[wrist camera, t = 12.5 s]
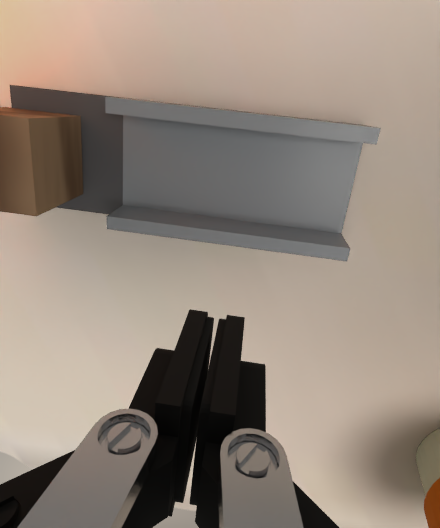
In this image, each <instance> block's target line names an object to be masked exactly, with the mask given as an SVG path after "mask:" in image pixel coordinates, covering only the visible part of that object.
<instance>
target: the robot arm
mask: <svg viewBox="0 0 440 528" xmlns="http://www.w3.org/2000/svg"><path fill="white" fill-rule="evenodd" d="M244 319H245V317H238V316H231V315H227V318H226V320H225V319H219V322H218V327H217V332H216V336H215V341H214V346H213V350H212V355H211V360H210V364H209V358H210V349H211V340H212V332H213V323H214V318H212V317H208V312H203V311H196V310H189V313H188V315H187V318H186V321H185V324H184V326H183V329H182V332H181V334H180V337H179V340H178V342H177V345H176V348H175V351H173V350H166V349H160V348H157V349H156V350H155V351H154V353H153V356H152V358H151V360H150V362H149V364H148V367H147V369H146V371H145V373H144V376H143V378H142V380H141V382H140V384H139V387H138V389H137V391H136V393H135V396H134V398H133V400H132V402H131V404H130V407H129V409H120V410H116V411H113V412H110V413H108V414H107V415H105V416H103V417H102V418H101V419H100V420H99V421H98V422H97V423H96V424H95V425H94V426H93V427H92V429H91V430H90V431H89V433H88V434H87V435H86V437H85V438H84V439H83V441H82V442H81V443H80V445H79V446H78V447H77V449H76V450H74V451H72V452H70V453H68V454H65V455H63V456H61V457H59V458H57V459H55V460H53V461H50V462H48V463H46V464H44V465H42V466H40V467H37V468H35V469H33V470H31V471H29V472H27V473H24V474H22V475H20V476H18V477H16V478H14V479H11V480H9V481H7V482H5V483H3V484H1V485H0V528H153V526H155V525H156V524H158V523H159V522H161V521H162V520H164V519H165V518H167V517H168V516H172V512H173V508H174V504H175V502H181V503H183V501H184V496H185V491H186V486H187V482H188V477H189V472H190V467H191V462H192V457H193V452H194V448H195V443H196V450H195V459H194V468H193V478H192V487H191V496H190V504H192V505H197V510H196V518H195V522H196V524H197V525H198V527H199V528H339V527H338V526H337V525H336V524H335V523H334V522H333V521H332V520H331V519H330V518H329V517H328V516H327V515H326V514H325V513H324V512H323V511H322V510H321V509H320V508H319V507H318V506H317V505H316V504H315V503H314V502H313V501H312V500H311V499H310V498H309V497H308V496H307V495H306V494H305V493H304V492H303V491H302V490H301V489H300V488H299V487H298V486H297V485H296V484H295V483H294V482H293V481H292V477H291V472H290V468H289V464H288V460H287V456H286V453H285V451H284V448H283V447H282V445H281V444H280V443H279V442H278V440H277V439H275V438H274V437H273V436H271V435H270V434H268V433H266V399H265V364H258V363H252V362H245V361H241V351H242V341H243V330H244ZM208 367H209V369H208ZM196 438H197V440H196Z"/></svg>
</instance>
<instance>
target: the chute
mask: <svg viewBox="0 0 440 528" xmlns="http://www.w3.org/2000/svg"><path fill="white" fill-rule="evenodd" d="M105 110H106V113H110V114H119V115H123V205H122V206H121V207H119V208H118V209H116V210H115V211H114V212H112V213H111V214H109V215H108V216H107V229H111V230H118V231H126V232H133V233H141V234H148V235H155V236H163V237H170V238H178V239H185V240H193V241H200V242H207V243H215V244H222V245H230V246H237V247H245V248H252V249H259V250H267V251H274V252H282V253H289V254H296V255H304V256H311V257H319V258H326V259H334V260H341V261H347V260H348V256H349V252H350V247H349V246H348V244H347V242H346V241H345V239H344V237H343V236H342V234H341V233H342V229H343V225H344V220H345V216H346V212H347V208H348V204H349V199H350V195H351V191H352V187H353V183H354V178H355V174H356V170H357V166H358V162H359V157H360V153H361V149H362V145H363V143H368V144H377V141H378V137H379V133H380V129H381V128H377V127H371V126H366V125H357V124H348V123H340V122H331V121H322V120H313V119H304V118H296V117H287V116H278V115H269V114H260V113H252V112H243V111H234V110H225V109H216V108H208V107H199V106H190V105H181V104H172V103H163V102H155V101H146V100H137V99H128V98H115V97H105Z"/></svg>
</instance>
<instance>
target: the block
mask: <svg viewBox="0 0 440 528" xmlns="http://www.w3.org/2000/svg"><path fill="white" fill-rule="evenodd" d="M82 194H83V172H82V144H81V116H76V115H67V114H59V113H50V112H42V111H33V110H25V109H16V108H8V107H0V211H2V212H9V213H17V214H24V215H32V216H38V215H40V214H42V213H44V212H46V211H48V210H51V209H53V208H55V207H57V206H59V205H61V204H63V203H65V202H67V201H69V200H72V199H74V198H76V197H78V196H80V195H82Z"/></svg>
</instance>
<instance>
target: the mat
mask: <svg viewBox="0 0 440 528" xmlns="http://www.w3.org/2000/svg"><path fill="white" fill-rule="evenodd" d="M10 93H11V103H12V108H16V109H25V110H33V111H42V112H50V113H59V114H67V115H76V116H81V144H82V172H83V194H82V195H80V196H78V197H76V198H74V199H72V200H69V201H67V202H65V203H63V204H61V205H59V206H57V207H58V208H66V209H73V210H81V211H88V212H96V213H103V214H111V213H112V212H114V211H115V210H116V209H118V208H119V207H121V206H122V205H123V115H119V114H110V113H106V110H105V97H111V96H102V95H93V94H84V93H75V92H67V91H58V90H49V89H40V88H31V87H23V86H14V85H10ZM115 98H119V97H115Z"/></svg>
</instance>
